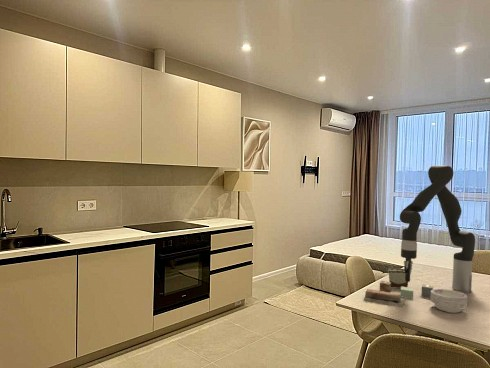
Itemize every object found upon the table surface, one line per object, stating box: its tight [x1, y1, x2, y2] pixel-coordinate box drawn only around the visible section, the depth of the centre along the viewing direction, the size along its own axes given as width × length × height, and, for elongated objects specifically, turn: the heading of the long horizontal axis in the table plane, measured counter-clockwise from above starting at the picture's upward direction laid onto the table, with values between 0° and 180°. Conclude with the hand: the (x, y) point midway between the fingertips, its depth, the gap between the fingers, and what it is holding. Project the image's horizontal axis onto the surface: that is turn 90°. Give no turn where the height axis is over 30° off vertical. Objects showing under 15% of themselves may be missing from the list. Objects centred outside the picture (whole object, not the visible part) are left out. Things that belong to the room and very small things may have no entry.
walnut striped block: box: [378, 280, 392, 293], centre depth 194 cm, size 5×5×5 cm
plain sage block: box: [399, 286, 414, 299], centre depth 188 cm, size 6×6×4 cm
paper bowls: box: [429, 288, 468, 314], centre depth 170 cm, size 15×15×8 cm
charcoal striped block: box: [421, 284, 434, 298], centre depth 190 cm, size 5×5×5 cm
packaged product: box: [363, 288, 405, 308], centre depth 179 cm, size 18×5×10 cm
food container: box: [387, 267, 412, 289], centre depth 205 cm, size 12×6×10 cm, turn 84°
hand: (407, 281), depth 188 cm, fingers closed
